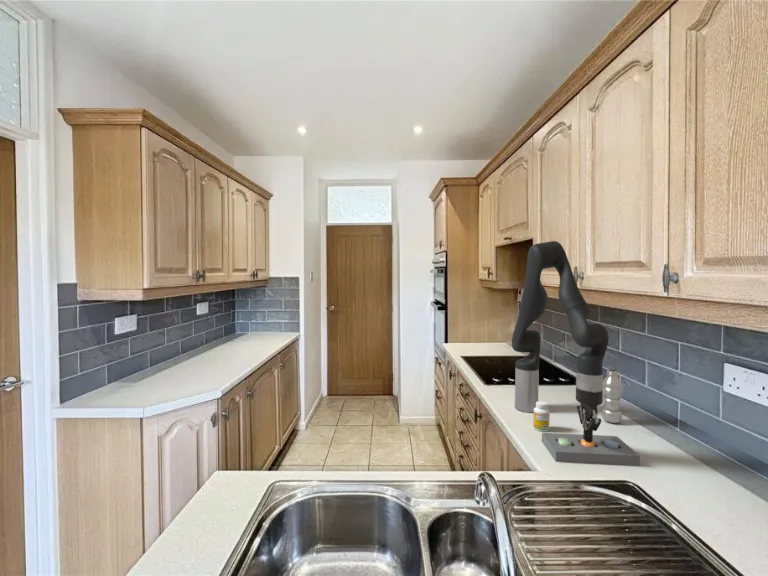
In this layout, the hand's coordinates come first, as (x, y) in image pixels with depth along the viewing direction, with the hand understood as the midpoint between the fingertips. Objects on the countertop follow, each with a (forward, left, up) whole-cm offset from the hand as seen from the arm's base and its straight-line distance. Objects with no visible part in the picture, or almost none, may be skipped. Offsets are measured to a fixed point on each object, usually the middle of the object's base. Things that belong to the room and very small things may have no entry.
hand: (587, 440), depth 123 cm
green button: (0, -7, -3) cm, 7 cm away
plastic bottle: (-28, +20, -4) cm, 35 cm away
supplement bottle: (-18, -9, -4) cm, 21 cm away
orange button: (0, 0, -3) cm, 3 cm away
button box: (0, 0, -4) cm, 4 cm away
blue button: (0, +7, -3) cm, 7 cm away
